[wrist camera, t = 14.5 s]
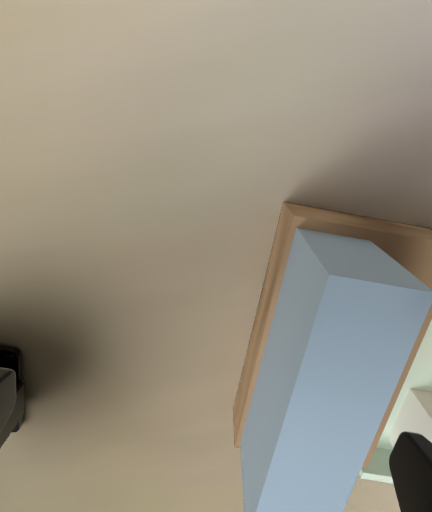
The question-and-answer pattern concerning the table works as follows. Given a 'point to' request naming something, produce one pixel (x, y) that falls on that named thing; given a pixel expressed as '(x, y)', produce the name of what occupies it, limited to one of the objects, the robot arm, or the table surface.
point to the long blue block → (327, 372)
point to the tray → (420, 378)
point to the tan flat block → (292, 216)
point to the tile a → (414, 416)
